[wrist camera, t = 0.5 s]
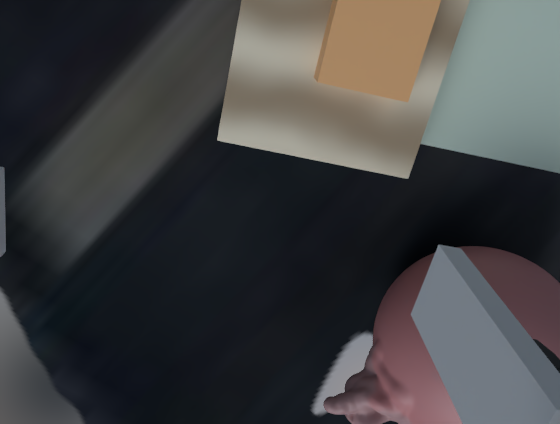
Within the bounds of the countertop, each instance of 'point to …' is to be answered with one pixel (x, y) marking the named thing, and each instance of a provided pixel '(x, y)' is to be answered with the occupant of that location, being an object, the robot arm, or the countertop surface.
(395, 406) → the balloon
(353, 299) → the countertop surface
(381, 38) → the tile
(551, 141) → the mat
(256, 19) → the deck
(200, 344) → the countertop surface
